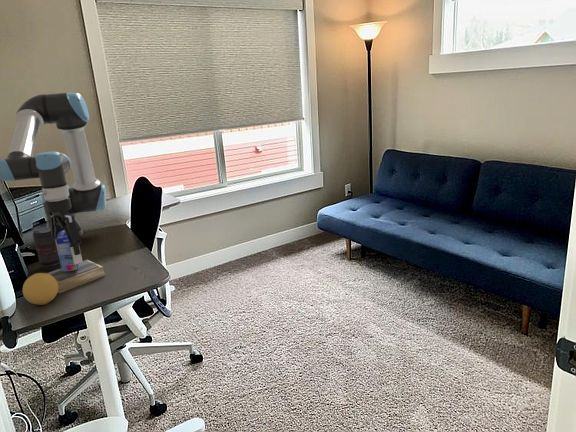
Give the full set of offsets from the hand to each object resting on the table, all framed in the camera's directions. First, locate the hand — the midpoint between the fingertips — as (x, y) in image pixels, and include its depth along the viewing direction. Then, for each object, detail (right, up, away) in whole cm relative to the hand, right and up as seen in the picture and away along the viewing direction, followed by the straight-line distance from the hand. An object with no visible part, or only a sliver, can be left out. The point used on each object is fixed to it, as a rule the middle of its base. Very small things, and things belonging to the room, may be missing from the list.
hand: (70, 259), depth 154 cm
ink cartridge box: (0, -3, +1) cm, 3 cm away
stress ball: (-2, -13, -13) cm, 19 cm away
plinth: (0, -8, +2) cm, 8 cm away
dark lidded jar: (-15, -4, +16) cm, 22 cm away
